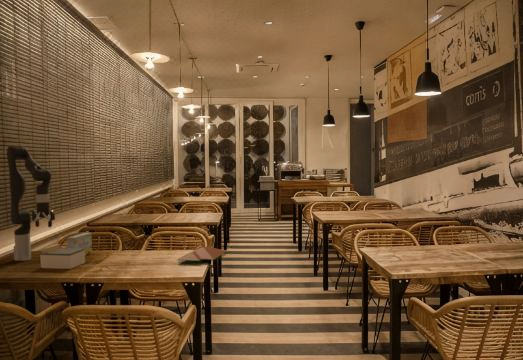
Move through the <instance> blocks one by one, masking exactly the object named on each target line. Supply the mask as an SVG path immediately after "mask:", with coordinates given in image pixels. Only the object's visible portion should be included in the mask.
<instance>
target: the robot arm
mask: <svg viewBox="0 0 523 360" xmlns="http://www.w3.org/2000/svg"><path fill="white" fill-rule="evenodd" d="M6 159H7V164H8V173H9V175H8V176H9V190H10V192H9V193H10V221H11V223H12V224H13V225H20V226H19V227H18V228H16V229H15V230H14V232H13V234H14V246H13V259H14V261H15V262H24V261H29V260H31V259H32V246H31V227H32V225H31V221H35V227H36V228H39V227H40V219H42V218H45V219H46V220H47V221H48V222H47V225H48V227H47V228H51V227H52V226H53V221H55V220H56V217H55V215H56V214H55V210H50V193H49V191H50V190H49V187H50V183H51V178H52V172H51V171H50V170H49V169H47V168H45V169H42V167H41V165H40V164H39V163H38V162H37V161H36V160H35V159H34V158H33V157H32V155H31V154H30V152H29V151H28V149H26V147H25V146H22V145H9V146H8V147H7V149H6ZM17 161H24V167H25V169H26V170H27V171H28V172H29V173H30V174H31V176H32V179H33V180H35V181H36V182H42V183H40V184H37V185H36V187H35V190H36V191H35V193H36V196H35V202H36V203H35V207H36V209H33V210H32V212H31V213H30V211H29V209H26V208H25V209H20V203H21V200H22V198H23V197H24V195H25V193H26V188H27V187H26V179H25V177H24V175H23V174H22V173H21V172H20V170H19V168H18V167H17ZM31 219H32V220H31Z"/></svg>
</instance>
